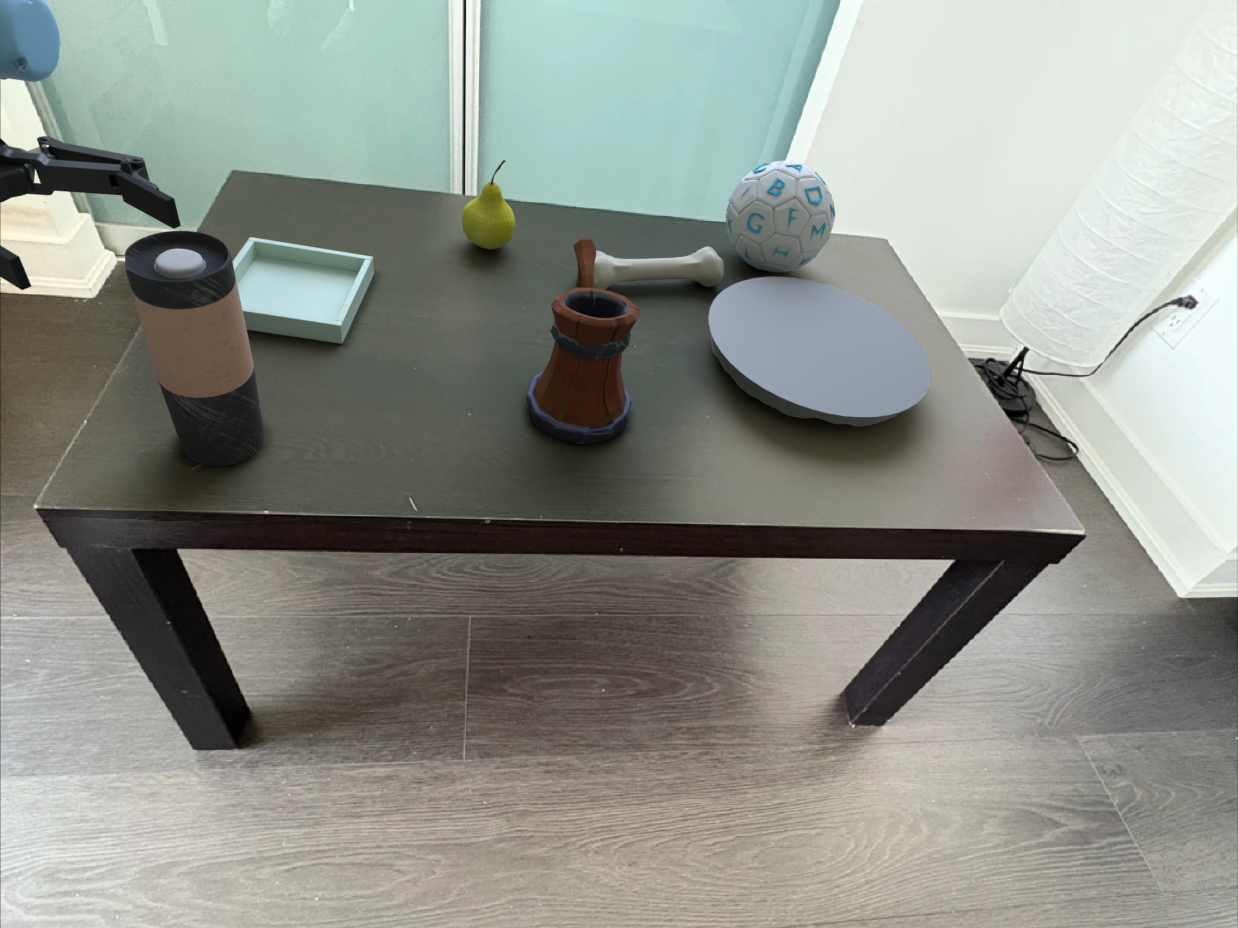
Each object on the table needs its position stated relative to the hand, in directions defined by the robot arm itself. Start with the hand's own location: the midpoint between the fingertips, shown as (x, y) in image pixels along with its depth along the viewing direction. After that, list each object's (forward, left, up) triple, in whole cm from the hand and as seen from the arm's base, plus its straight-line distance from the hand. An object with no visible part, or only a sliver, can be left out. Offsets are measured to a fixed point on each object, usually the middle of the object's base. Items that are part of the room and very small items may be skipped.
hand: (103, 241), depth 66 cm
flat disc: (+73, -5, -17) cm, 75 cm away
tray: (+14, +16, -17) cm, 27 cm away
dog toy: (+59, +15, -17) cm, 63 cm away
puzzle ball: (+79, +19, -17) cm, 83 cm away
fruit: (+39, +26, -17) cm, 50 cm away
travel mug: (+6, -7, -17) cm, 20 cm away
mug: (+42, -5, -17) cm, 46 cm away
